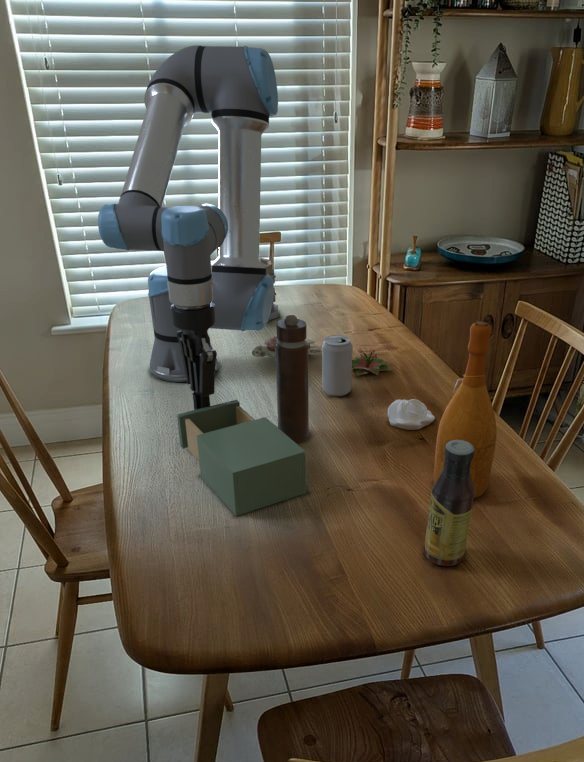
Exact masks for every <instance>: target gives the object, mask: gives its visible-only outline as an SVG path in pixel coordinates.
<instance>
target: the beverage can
mask: <svg viewBox="0 0 584 762" xmlns="http://www.w3.org/2000/svg"><path fill="white" fill-rule="evenodd" d="M321 347H322V348H321V350H322V353H321V354H322V355H321V358H322V359H321V374H322V375H321V381H322V382H321V388H322V391H323V392H324V393H325V394H326V395H328V396H330V397H343V396H347V395H348V393H350V392H351V391H352V382H353V381H352V379H353V377H352V376H353V368H352V360H353V344H352V339H351V338H350V337H348V336H346V335H341V334H331V335H328V336H326V337H324V338H323V343H322V345H321Z"/></svg>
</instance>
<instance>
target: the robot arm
mask: <svg viewBox="0 0 584 762" xmlns="http://www.w3.org/2000/svg"><path fill="white" fill-rule="evenodd" d="M270 55H271V54H269V52H268V51H267V50H266V49H265V48H262V47H251V46H247V45H244V46H224V45H223V46H220V45H219V46H210V45H209V46H208V45H190V46H186V47H183V48H181V49H179V50H177V51H175V52H174V53H172V54H171V55H169V57H167V58H166V59H164V61H163V62H162V63H161V64H160V65H159V66H158V68H157V69H156V70H155V72H154V73H153V75H152V76H151V78H150V80H149V82H148V83H147V87H146V90H145V92H144V97H143V102H144V106H145V113H144V116H143V119H142V123H141V126H140V130H139V133H138V136H137V140H136V144H135V147H134V150H133V153H132V157H131V160H130V164H129V167H128V170H127V172H126V173H127V174H126V176H125V180H124V184H123V186H122V190H121V194H120V195H119V199H118V203H115V202H113V203H108V204H104V205H102V206H101V207H100V209H99V212H98V216H97V227H98V234H99V236H100V238H101V240H102V243H103V244H104V245H105V246H106V247H108V248H110V249H117V250H125V251H151V252H164V259H165V265H163V266H161V267H158V268H156V269H154V270H152V271H151V272H150V274H149V275H148V277H147V288H148V292H147V296H148V299H149V300H148V301H149V306H150V307H149V308H150V315H151V321H152V328H153V336H154V340H153V345H152V350H151V354H150V359H149V367H150V368H149V369H150V373H151V375H152V376H154V377H155V378H157V379H159V380H161V381H164V382H165V381H166V382H171V383H172V382H173V383H186V384H187V385H190V386H189V388H190V390H191V392H192V394H191V395H192V401H193V410H196V409H201V408H205V407H209V406H211V400H210V399H211V398H210V396H211V395H215V385H216V372H217V370H218V367H219V365H218V358H217V356H218V353H217V351H216V349H214V348H213V346H212V343H211V338H210V335H209V332H208V331H209V329H215V330H230V331H241V332H246V331H253V332H254V331H257V332H258V331H261V330H262V329H264V328H265V327H266V325H267V324H268V322H269V321H268V319H269V316H270V312H271V308H272V302H273V294H274V288H275V285H274V284H275V283H274V282H273V278H272V277H270V276H269V275H266V266H265V265H264V264H263V263H262V262H261V260H260V239H261V238H260V236H261V233H260V231H261V228H260V227H261V182H262V181H261V179H262V178H261V176H262V173H261V172H262V136H263V133H264V132H266V130H267V129H269V126H270V117H271V118H273V117H274V116H276V115H277V114H278V113H279V112H278V110H279V108H278V107H279V93H278V84H277V77H276V71H275V68H274V66H275V65H274V63H273V59H272V58H271V56H270ZM201 113H202V114H210V115H211V118H210V119H211V124H212V125H213V126H214V127H215V129H216V130H217V132H218V206H216V205H214V204H211V203H202V204H198V205H177V206H163V204H164V201H165V198H166V194H167V190H168V188H169V183H170V180H171V176H172V172H173V169H174V166H175V162H176V158H177V155H178V151H179V147H180V144H181V140H182V138H183V137H182V136H183V134H184V129H185V127H186V126H188V125H189V124H190V123H191V121H192V120H193V117H194V115H196V114H201ZM217 249H218V255H217V258H216V259H215V260H214V261H213V262H212V260H211V259H212V258H211V255H212V254H213V253H214V252H215V251H216V250H217ZM273 287H274V288H273ZM273 303H274V302H273Z"/></svg>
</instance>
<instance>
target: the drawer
mask: <svg viewBox="0 0 584 762" xmlns="http://www.w3.org/2000/svg"><path fill="white" fill-rule="evenodd" d="M176 419H177V420H176V421H177V429H178V436H179V446H180V447H181V448H182V449H187V450H188V451H189V452H190V453H191V454H192V455H193V456H194V458H195V459H196V460H197V461H198V462H199V454H198V444H197V435H200V434H204V433H207V432H211V431H215V430H219V429H222V428H226V427H230V426H234V425H238V424H241V423H245V422H249V421H253V420H256V419H255V418H254V417H253V416H252V415H251V414H250V413H249V412H247V411H246V410H245V409H244V408H243V407H242V406H241V404H240V401H239V400H238V399H233V400H229V401H225V402H221V403H217V404H214V405H210V406H209V407H205V408H201V409H196V410H194V409H193V410H189V411H184V412H181V413H177V414H176Z"/></svg>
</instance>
